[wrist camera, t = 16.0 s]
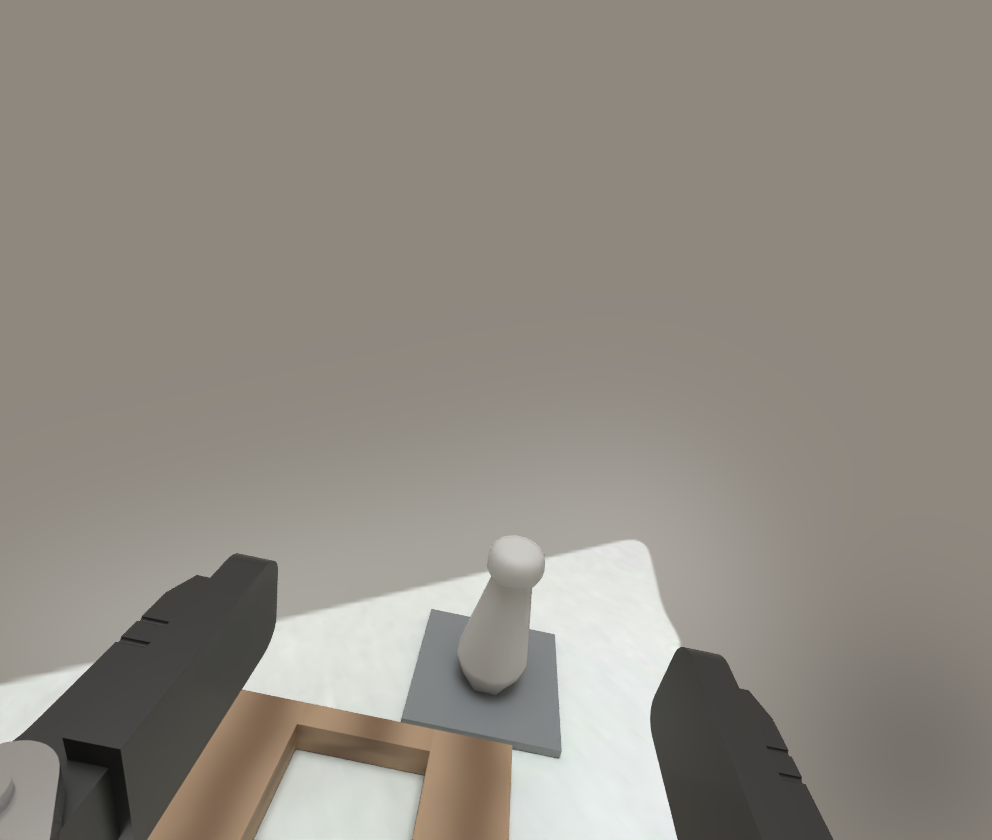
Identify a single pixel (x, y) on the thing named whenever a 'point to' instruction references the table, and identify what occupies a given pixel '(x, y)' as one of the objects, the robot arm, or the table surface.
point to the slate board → (500, 718)
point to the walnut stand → (297, 725)
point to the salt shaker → (502, 616)
